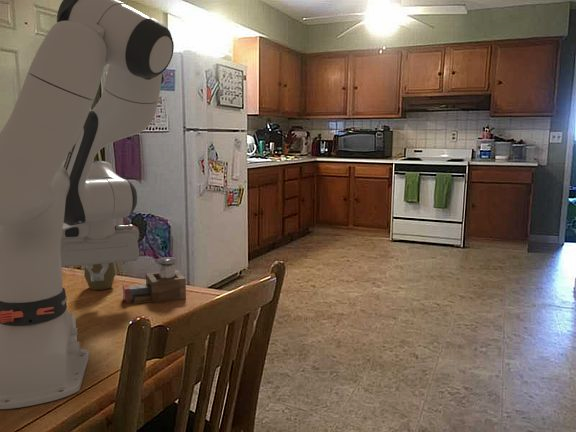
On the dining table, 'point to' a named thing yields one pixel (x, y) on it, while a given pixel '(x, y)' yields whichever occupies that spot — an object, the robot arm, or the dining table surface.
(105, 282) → the squeeze bottle
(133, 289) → the grey rectangular block
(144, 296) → the box
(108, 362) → the dining table surface
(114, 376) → the dining table surface
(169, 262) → the grey cylindrical piece
